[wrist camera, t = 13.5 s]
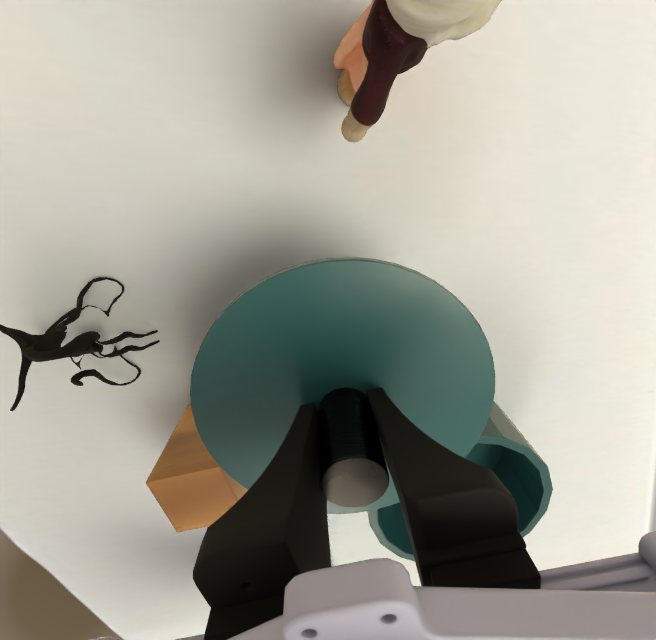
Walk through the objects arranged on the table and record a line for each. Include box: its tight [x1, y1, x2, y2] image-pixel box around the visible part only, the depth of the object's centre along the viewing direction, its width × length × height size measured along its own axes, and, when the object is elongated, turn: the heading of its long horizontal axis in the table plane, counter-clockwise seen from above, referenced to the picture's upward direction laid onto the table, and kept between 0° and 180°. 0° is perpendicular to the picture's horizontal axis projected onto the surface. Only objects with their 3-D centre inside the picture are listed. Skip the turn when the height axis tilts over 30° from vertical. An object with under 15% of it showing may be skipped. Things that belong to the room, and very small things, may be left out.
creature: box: [0, 277, 160, 411], centre depth 20 cm, size 8×5×8 cm
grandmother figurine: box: [334, 0, 502, 142], centre depth 12 cm, size 8×4×13 cm, turn 164°
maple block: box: [146, 405, 248, 532], centre depth 23 cm, size 4×4×7 cm
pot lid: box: [190, 257, 495, 514], centre depth 14 cm, size 14×14×5 cm
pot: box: [368, 401, 553, 561], centre depth 25 cm, size 12×13×6 cm
